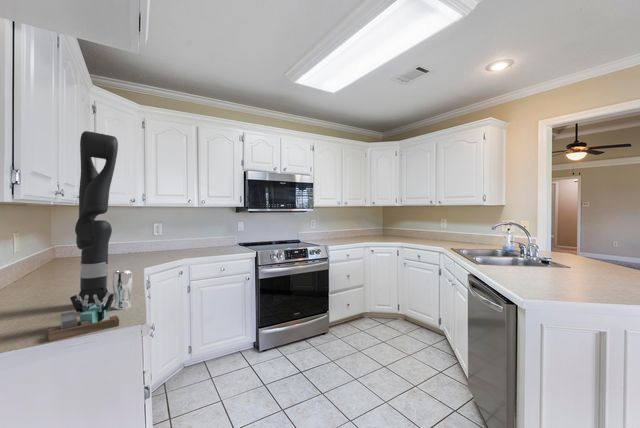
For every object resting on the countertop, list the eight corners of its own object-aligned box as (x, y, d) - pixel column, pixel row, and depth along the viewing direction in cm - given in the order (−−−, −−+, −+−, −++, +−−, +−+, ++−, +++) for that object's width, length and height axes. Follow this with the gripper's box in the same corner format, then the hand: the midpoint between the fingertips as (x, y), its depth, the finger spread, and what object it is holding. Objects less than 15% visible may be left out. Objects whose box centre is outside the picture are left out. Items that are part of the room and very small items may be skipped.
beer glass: (129, 303, 125) (129, 269, 125) (134, 307, 120) (135, 271, 120) (110, 307, 119) (110, 271, 119) (115, 311, 115) (115, 274, 115)
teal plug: (96, 316, 110) (96, 303, 110) (107, 315, 111) (107, 302, 110) (80, 328, 99) (80, 314, 98) (92, 327, 99) (92, 313, 99)
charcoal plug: (60, 326, 100) (60, 312, 100) (73, 324, 102) (73, 310, 102) (62, 337, 92) (62, 321, 92) (77, 334, 94) (77, 319, 94)
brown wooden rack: (48, 336, 91) (48, 329, 91) (116, 321, 104) (116, 315, 104) (48, 341, 88) (48, 333, 88) (118, 325, 101) (118, 318, 101)
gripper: (64, 278, 98) (64, 327, 98) (111, 276, 102) (111, 324, 102) (76, 273, 105) (76, 319, 106) (120, 271, 109) (120, 316, 109)
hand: (93, 321), depth 104 cm, fingers closed on teal plug, 3 cm apart
